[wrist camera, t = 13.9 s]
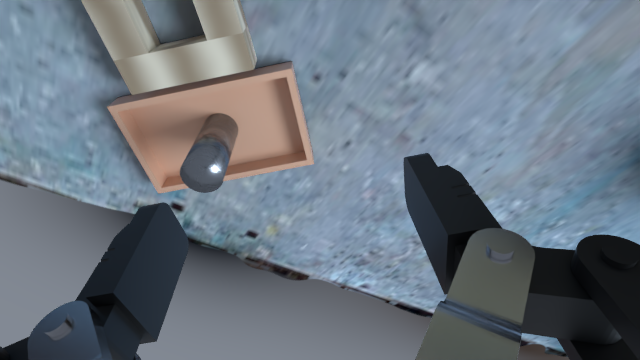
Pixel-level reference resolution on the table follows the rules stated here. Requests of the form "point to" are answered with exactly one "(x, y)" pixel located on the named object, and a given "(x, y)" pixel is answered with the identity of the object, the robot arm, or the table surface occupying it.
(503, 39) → the table surface
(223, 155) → the steel pin
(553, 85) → the table surface
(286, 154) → the tray
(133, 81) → the block
